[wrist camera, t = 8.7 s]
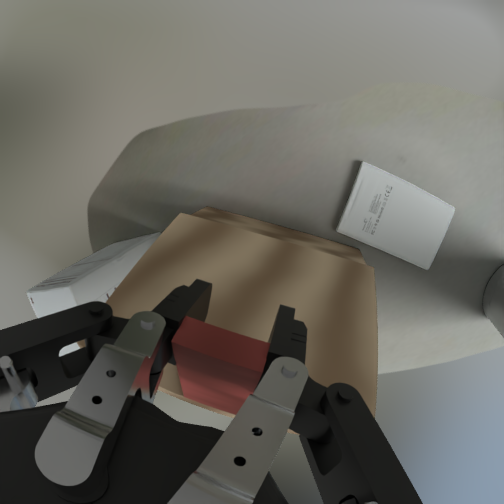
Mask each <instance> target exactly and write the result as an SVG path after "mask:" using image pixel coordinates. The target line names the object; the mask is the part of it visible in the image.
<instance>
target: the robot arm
mask: <svg viewBox="0 0 504 504" xmlns="http://www.w3.org/2000/svg"><path fill="white" fill-rule="evenodd" d="M211 292H212V283H209V282H206V281H203V280H200V279H196V280H195V281H194V282H193V283H192V284H191V285H190V286H189V287H188V286H185V285H182V286H179V287H177V288H175V289H174V290H172V291H171V292H170V294H168V295H167V296H166V297H165V299H163V300H162V301H161V302H160V303H159V304H158V305H157V306H156V307H155V308H154V309H153V310H152V311H141V312H138V313H135V314H134V315H133V316H132V317H131V318H130V319H126V318H121V317H116V316H113V310H112V308H111V306H110V305H108V304H107V303H104V302H100V301H92V302H88V303H85V304H82V305H78V306H75V307H72V308H69V309H66V310H63V311H59V312H56V313H53V314H50V315H47V316H44V317H40V318H37V319H34V320H31V321H28V322H25V323H21V324H18V325H16V326H12V327H9V328H6V329H2V330H0V504H288V502H287V500H286V499H285V497H284V496H283V494H282V492H281V491H280V489H279V487H278V486H277V484H276V482H275V481H274V479H273V477H272V476H271V474H270V472H269V469H270V467H271V465H272V463H273V461H274V459H275V457H276V455H277V453H278V451H279V448H280V446H281V444H282V441H283V440H284V437H285V435H286V433H287V431H288V429H290V430H292V431H294V432H296V433H298V434H299V437H300V441H301V443H302V446H303V449H304V452H305V454H306V457H307V459H308V462H309V465H310V468H311V471H312V473H313V476H314V479H315V481H316V484H317V487H318V489H319V492H320V495H321V497H322V500H323V502H324V504H423V503H422V501H421V499H420V498H419V496H418V494H417V492H416V490H415V489H414V487H413V485H412V483H411V481H410V480H409V478H408V476H407V474H406V472H405V471H404V469H403V467H402V465H401V464H400V462H399V460H398V458H397V457H396V455H395V453H394V451H393V449H392V448H391V446H390V444H389V443H388V441H387V439H386V437H385V436H384V434H383V432H382V430H381V429H380V427H379V425H378V423H377V422H376V420H375V418H374V417H373V415H372V413H371V411H370V410H369V408H368V406H367V405H366V403H365V401H364V400H363V398H362V396H361V395H360V393H359V392H358V391H357V389H355V388H354V387H353V386H351V385H349V384H346V383H340V382H339V383H333V384H331V385H330V386H329V387H328V388H327V387H325V386H323V385H321V384H319V383H317V382H316V381H314V380H313V379H312V378H311V377H310V376H309V373H308V369H307V367H306V366H305V359H306V345H307V344H306V343H307V330H308V329H307V327H306V325H305V324H304V322H302V321H299V320H295V319H294V316H295V308H292V307H289V306H285V305H282V304H280V306H279V309H278V312H277V315H276V318H275V321H274V324H273V328H272V331H271V334H270V337H269V340H268V343H270V346H269V350H268V353H267V357H266V363H265V366H264V369H263V373H262V375H261V377H260V380H259V382H258V384H257V387H256V388H255V390H254V393H253V394H250V395H249V396H248V398H247V399H246V401H245V402H244V404H243V405H242V407H241V408H240V410H239V411H238V413H237V414H236V416H235V417H234V419H233V420H232V422H231V423H230V425H229V426H228V428H227V429H226V430H225V431H222V430H218V429H216V428H213V427H207V426H200V425H194V424H188V423H182V422H178V421H176V420H174V419H173V418H171V417H170V416H169V415H167V414H166V413H164V412H163V411H161V410H160V409H159V408H157V407H156V406H155V405H153V401H154V398H155V395H156V393H157V390H158V387H159V384H160V381H161V379H162V376H163V372H164V367H165V366H166V364H167V363H170V364H172V365H175V366H176V360H175V357H174V353H173V348H172V343H171V341H172V339H173V337H174V335H175V333H176V332H177V330H178V329H179V327H180V326H181V324H182V322H183V320H184V318H185V316H188V317H191V318H194V319H197V320H199V321H202V322H205V320H206V317H207V314H208V309H209V303H210V298H211ZM483 310H484V313H485V315H486V316H487V317H488V319H489V320H490V321H491V322H492V323H493V325H494V326H495V327H496V328H497V330H498V331H499V332H500V334H501V335H502V336H503V338H504V265H502V266H501V267H500V268H499V269H498V270H497V271H496V272H495V273H494V275H493V276H492V277H491V279H490V281H489V283H488V285H487V287H486V290H485V293H484V297H483ZM81 340H84V341H85V346H86V347H83V348H81V349H78V350H76V351H73V352H70V353H68V354H65V355H63V356H60V357H59V352H60V350H61V349H62V348H63V347H65V346H68V345H70V344H73V343H76V342H78V341H81ZM76 385H78V386H77V387H76V389H75V391H74V392H73V394H72V396H71V397H70V399H69V401H66V402H61V403H56V404H50V405H45V406H40V407H35V406H36V404H37V402H39V401H42V400H44V399H47V398H49V397H51V396H53V395H56V394H58V393H61V392H63V391H65V390H68V389H70V388H72V387H74V386H76Z"/></svg>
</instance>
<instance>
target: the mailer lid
mask: <svg viewBox="0 0 504 504" xmlns="http://www.w3.org/2000/svg"><path fill="white" fill-rule="evenodd" d="M196 279H200V280H203V281H206V282H209V283H212V292H211V298H210V303H209V309H208V314H207V317H206V320H205V322H202V321H199V320H197V319H194V318H191V317H188V316H185V318H184V320H183V322H182V324H181V326H180V327H179V329H178V330H177V332H176V333H175V335H174V337H173V339H172V341H171V343H172V348H173V353H174V357H175V360H176V366H175V365H172V364H170V363H167V364H166V366H165V367H164V372H163V376H162V379H161V381H160V384H159V387H158V390H160V391H162V392H164V393H167V394H169V395H171V396H174V397H176V398H178V399H181V400H183V401H186V402H188V403H191V404H194V405H196V406H199V407H202V408H204V409H208V410H210V411H213V412H216V413H219V414H222V415H225V416H228V417H231V418H234V417H235V416H236V414H237V413H238V411H239V410H240V408H241V407H242V405H243V404H244V402H245V401H246V399H247V398H248V396H249V395H250V394H253V393H254V390H255V388H256V387H257V384H258V382H259V380H260V377H261V375H262V373H263V369H264V366H265V363H266V357H267V353H268V350H269V346H270V343H268V340H269V337H270V334H271V331H272V328H273V324H274V321H275V318H276V315H277V312H278V309H279V306H280V304H282V305H285V306H289V307H292V308H295V316H294V319H295V320H299V321H302V322H304V324H305V325H306V327H307V329H308V330H307V343H306V344H307V345H306V359H305V366H306V367H307V369H308V373H309V376H310V377H311V378H312V379H313V380H314V381H316V382H317V383H319V384H321V385H323V386H325V387H327V388H328V387H329V386H330V385H331V384H333V383H339V382H340V383H346V384H349V385H351V386H353V387H354V388H355V389H357V391H358V392H359V393H360V395H361V396H362V398H363V400H364V401H365V403H366V405H367V406H368V408H369V410H370V411H371V413H372V415H373V417H374V418H375V409H376V394H377V372H378V327H377V302H376V287H375V274H374V267H371V266H368V265H365V264H361V263H358V262H355V261H351V260H348V259H345V258H341V257H338V256H335V255H331V254H328V253H324V252H321V251H317V250H314V249H311V248H307V247H304V246H300V245H297V244H293V243H290V242H286V241H283V240H279V239H276V238H272V237H268V236H265V235H261V234H258V233H254V232H251V231H247V230H243V229H240V228H236V227H232V226H229V225H225V224H221V223H218V222H214V221H210V220H206V219H203V218H199V217H195V216H191V215H188V214H184V213H180V214H179V215H178V216H177V217H176V218H175V219H174V220H173V221H172V222H171V224H170V225H169V226H168V227H167V228H166V229H165V230H164V231H163V233H162V234H161V235H160V236H159V237H158V238H157V240H156V241H155V242H154V243H153V244H152V245H151V247H150V248H149V249H148V250H147V251H146V252H145V254H144V255H143V256H142V257H141V258H140V260H139V261H138V262H137V263H136V264H135V266H134V267H133V268H132V269H131V271H130V272H129V273H128V274H127V276H126V277H125V278H124V279H123V281H122V282H121V283H120V284H119V286H118V287H117V288H116V289H115V291H114V292H113V293H112V295H111V296H110V297H109V299H108V300H107V301H106V302H105V303H107V304H108V305H110V306H111V308H112V310H113V316H116V317H121V318H126V319H130V318H131V317H132V316H133V315H134V314H135V313H138V312H141V311H152V310H153V309H154V308H155V307H156V306H157V305H158V304H159V303H160V302H161V301H162V300H163V299H165V297H166V296H167V295H168V294H170V292H171V291H172V290H174V289H175V288H177V287H179V286H182V285H185V286H188V287H189V286H190V285H191V284H192V283H193V282H194V281H195V280H196ZM77 344H78V346H79V347H80V349H81V348H83V347H86V346H85V341H84V340H81V341H78V342H77ZM287 432H288V433H292V434H297V435H299V434H298V433H296V432H294V431H292V430H290V429H288V431H287Z"/></svg>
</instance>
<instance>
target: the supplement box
mask: <svg viewBox="0 0 504 504" xmlns="http://www.w3.org/2000/svg"><path fill="white" fill-rule="evenodd" d="M161 234H162V233H161V232H158V233H153V234H149V235H144V236H140V237H137V238H133V239H129V240H124V241H120V242H116V243H113V244H111V245H109V246H107V247H105V248H103V249H101V250H99V251H97V252H95V253H93V254H91V255H90V256H88V257H86V258H84V259H82V260H80V261H79V262H77V263H75V264H73V265H71V266H69V267H68V268H66V269H64V270H62V271H60V272H58V273H57V274H55V275H53V276H51V277H49V278H48V279H46V280H44V281H42V282H41V283H39V284H37V285H36V286H34V287H32V288H31V289H29V290H28V291H27V295H28V298H29V300H30V303H31V305H32V307H33V310H34V312H35V314H36V316H37V318H40V317H44V316H47V315H50V314H53V313H56V312H59V311H63V310H66V309H69V308H72V307H75V306H78V305H82V304H85V303H88V302H92V301H100V302H104V303H105V302H106V301H107V300H108V299H109V297H110V296H111V295H112V293H113V292H114V291H115V289H116V288H117V287H118V286H119V284H120V283H121V282H122V281H123V279H124V278H125V277H126V276H127V274H128V273H129V272H130V271H131V269H132V268H133V267H134V266H135V264H136V263H137V262H138V261H139V260H140V258H141V257H142V256H143V255H144V254H145V252H146V251H147V250H148V249H149V248H150V247H151V245H152V244H153V243H154V242H155V241H156V240H157V238H158V237H159V236H160V235H161ZM78 349H80V347H79V346H78V344H77V342H76V343H73V344H70V345H68V346H65V347H63V348H62V349H61V350H60V352H59V357H60V356H63V355H65V354H68V353H70V352H73V351H76V350H78Z"/></svg>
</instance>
